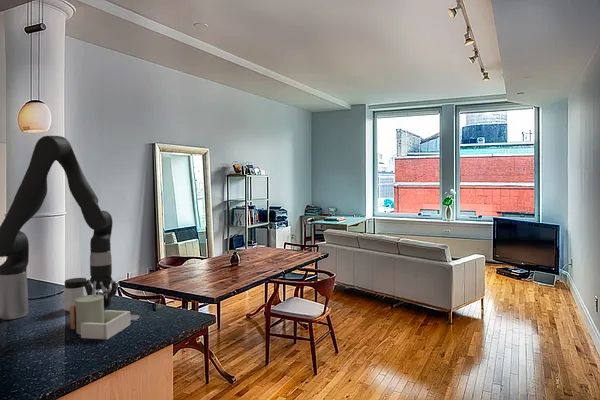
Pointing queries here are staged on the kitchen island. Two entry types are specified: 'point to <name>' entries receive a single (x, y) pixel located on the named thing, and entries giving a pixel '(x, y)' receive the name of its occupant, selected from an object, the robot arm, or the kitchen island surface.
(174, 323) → the kitchen island surface
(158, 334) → the kitchen island surface
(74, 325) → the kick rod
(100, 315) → the can
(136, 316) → the rail
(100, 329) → the frame
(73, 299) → the jar
